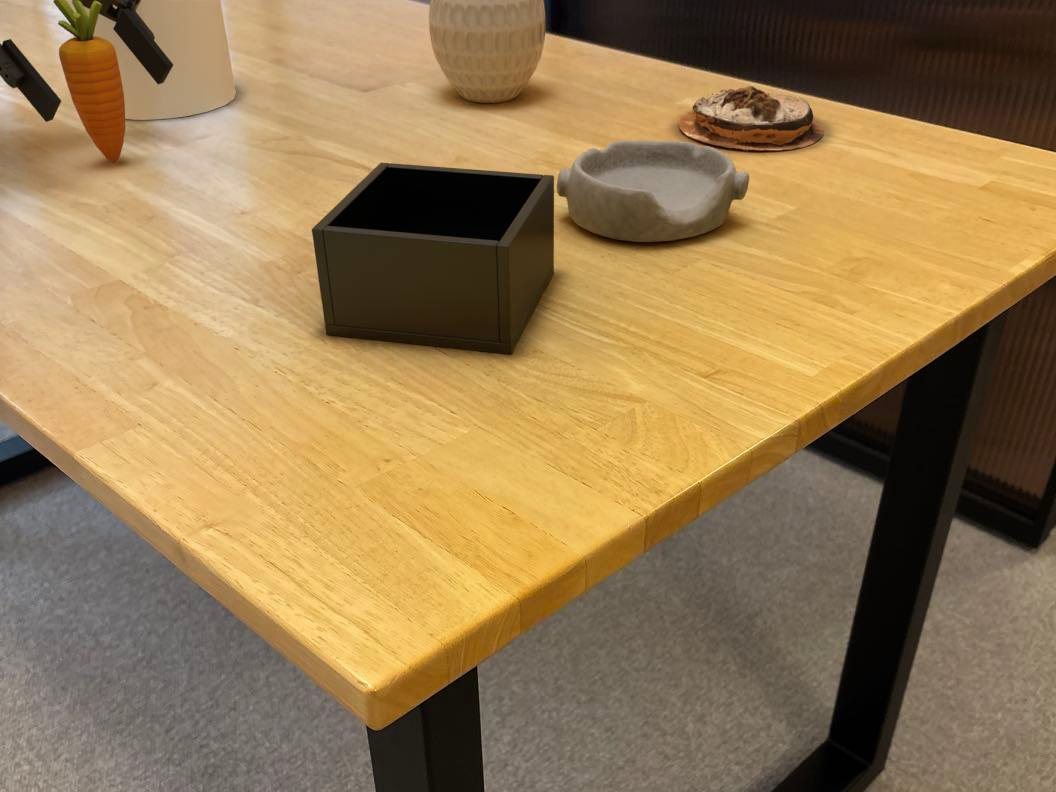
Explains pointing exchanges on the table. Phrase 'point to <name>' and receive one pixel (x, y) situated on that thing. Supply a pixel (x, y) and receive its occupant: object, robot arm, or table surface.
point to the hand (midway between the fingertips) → (112, 92)
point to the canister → (175, 59)
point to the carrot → (93, 78)
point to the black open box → (437, 256)
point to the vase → (487, 45)
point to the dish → (651, 190)
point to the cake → (752, 121)
